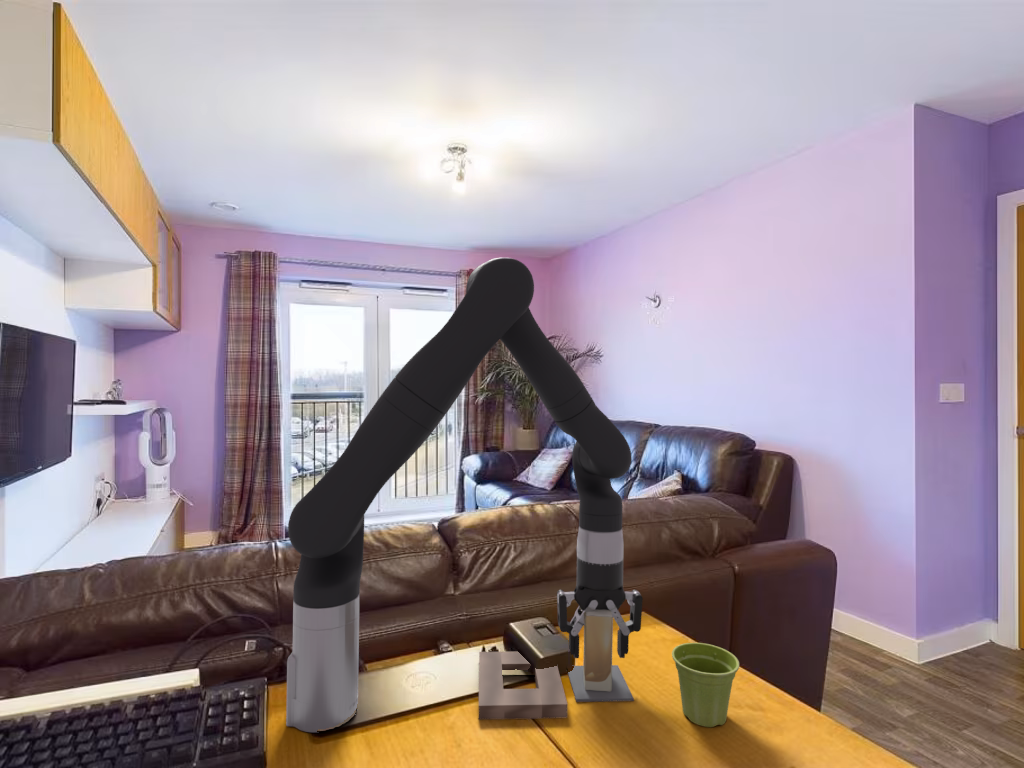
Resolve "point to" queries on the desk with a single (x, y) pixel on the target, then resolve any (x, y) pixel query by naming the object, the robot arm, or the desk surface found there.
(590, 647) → the skincare box
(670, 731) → the desk surface
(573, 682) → the mat
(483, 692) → the puzzle board
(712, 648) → the plant pot
